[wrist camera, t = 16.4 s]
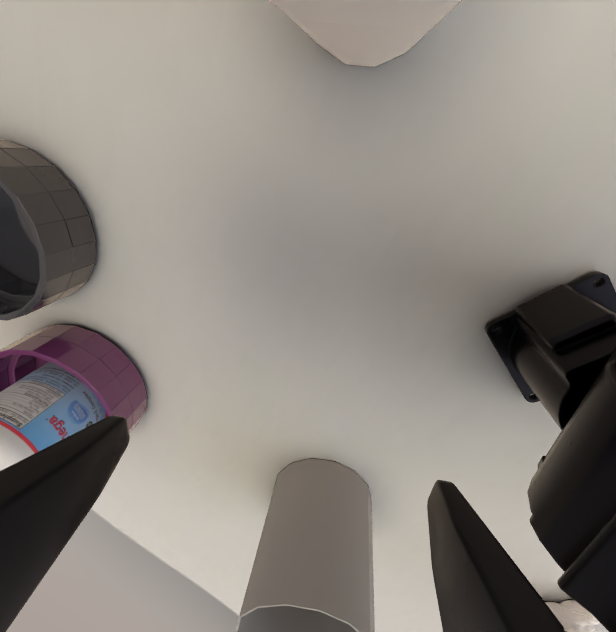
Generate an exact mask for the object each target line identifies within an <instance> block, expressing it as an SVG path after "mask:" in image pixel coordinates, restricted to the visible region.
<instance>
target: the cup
mask: <svg viewBox="0 0 616 632" xmlns="http://www.w3.org/2000/svg"><path fill="white" fill-rule="evenodd" d="M236 632H375V628H374V588H373V548H372V508H371V497H370V493H369V488H368V485H367V484H366V483H365V482H364V481H363V479H362V478H361V477H360V476H359V475H358V474H357V473H356V472H355V471H354V470H352V469H349V468H347V467H345V466H343V465H341V464H339V463H337V462H335V461H328V460H320V459H307V460H303V461H298V462H294V463H291V464H289V465H288V466H287V467H286V468H285V469H283V470H282V471H281V472H280V473H279V474H278V476H277V480H276V483H275V487H274V491H273V494H272V498H271V502H270V505H269V509H268V513H267V516H266V520H265V524H264V527H263V531H262V535H261V539H260V542H259V546H258V550H257V553H256V557H255V561H254V564H253V568H252V572H251V575H250V579H249V583H248V586H247V590H246V594H245V598H244V601H243V605H242V609H241V612H240V616H239V620H238V623H237V627H236Z"/></svg>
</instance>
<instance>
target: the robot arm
mask: <svg viewBox="0 0 616 632" xmlns="http://www.w3.org/2000/svg"><path fill="white" fill-rule="evenodd" d="M598 278H599V282H598V283H596V284H594V285H593V282H594V280H596V279H598ZM494 327H498V329H497V330H496V331H491V330H492V329H493V328H494ZM485 332H486V333H487V335H488V337H489V338H490V340H491V342H492V344H493V345H494V347H495V349H496V350H497V352H498V354H499V356H500V357H501V359H502V361H503V362H504V364H505V366H506V367H507V369H508V371H509V373H510V374H511V376H512V378H513V379H514V381H515V383H516V384H517V386H518V388H519V390H520V391H521V393H522V395H523V396H524V398H525V399H526V400H527V401H528V402H537V401H541V403H542V404H543V406H544V407H545V408H546V410H547V411H548V412H549V414H550V415H551V416H552V418H553V419H554V420H555V422H556V423H557V425H558V426H559V427H560V429H561V430H562V432H561V433H560V435H559V436H558V438H557V440H556V441H555V443H554V444H553V446H552V447H551V449H550V450H549V452H548V454H547V455H546V456H543V457H542V458H541V460H540V461H539V463H538V470H537V472H536V473H535V475H534V476H533V478H532V480H531V483H530V486H529V489H528V497H529V503H530V508H531V512H532V514H533V515H532V516H531V518H530V523H531V525H532V527H533V529H534V531H535V532H536V534H537V536H538V538H539V540H540V541H541V543H542V544H543V545H544V547H545V548H546V549H547V551H548V552H549V553H550V555H551V556H552V557H553V559H554V560H555V561H556V563H557V564H558V565H559V566H560V567H561V568H562V569H563V570H564V571H565V572H564V574H563V575H562V576H561V577H560V578H559V579H558V585H559V587H560V588H561V589H562V590H563V591H564V592H565V593H566V594H568V595H569V596H570V597H571V598H573V599H574V600H575V601H576V602H578V603H579V604H580V605H581V606H583V607H584V608H585V609H586V610H587V611H589V612H590V613H591V614H592V615H593V616H594V617H595V618H596V619H597V620H598V621H599V622H600V623H601V624H602V625H603V626H604V627H605V628H606V629H607V630H608V631H609V632H616V292H615V290H614V288H613V285H612V283H611V281H610V278H609V277H608V276H607V275H606V274H604V273H601V272H592V273H589V274H587V275H585V276H583V277H581V278H579V279H577V280H575V281H573V282H571V283H569V284H567V285H560V286H558V287H556V288H554V289H552V290H550V291H548V292H546V293H544V294H542V295H540V296H538V297H536V298H534V299H532V300H529V301H527V302H525V303H523V304H521V305H519V306H518V307H517V309H515V310H513V311H511V312H508V313H506V314H504V315H502V316H500V317H498V318H496V319H494V320H492V321H490V322H488V323H487V324H486V326H485ZM532 393H535V394H533V395H531V396H530V394H532ZM128 443H129V430H128V423H127V419H126V418H125V417H121V416H116V415H111V416H108V417H106V418H104V419H102V420H100V421H98V422H96V423H94V424H92V425H90V426H88V427H86V428H84V429H82V430H80V431H78V432H76V433H74V434H72V435H70V436H68V437H66V438H64V439H62V440H60V441H58V442H56V443H55V444H53V445H51V446H49V447H47V448H45V449H43V450H41V451H39V452H37V453H35V454H33V455H31V456H29V457H27V458H25V459H23V460H21V461H19V462H17V463H15V464H13V465H11V466H9V467H7V468H5V469H3V470H1V471H0V632H6V631H7V629H8V628H9V626H10V625H11V624H12V622H13V621H14V619H15V618H16V616H17V615H18V613H19V611H20V610H21V609H22V608H23V606H24V605H25V603H26V602H27V600H28V599H29V597H30V596H31V595H32V593H33V592H34V590H35V589H36V587H37V585H38V584H39V583H40V581H41V580H42V579H43V577H44V575H45V574H46V573H47V571H48V570H49V568H50V567H51V565H52V564H53V563H54V561H55V560H56V558H57V557H58V555H59V554H60V552H61V551H62V550H63V548H64V547H65V545H66V544H67V542H68V541H69V539H70V538H71V536H72V535H73V534H74V532H75V531H76V529H77V528H78V526H79V525H80V523H81V522H82V521H83V519H84V518H85V516H86V515H87V513H88V512H89V510H90V509H91V508H92V506H93V505H94V503H95V502H96V500H97V499H98V497H99V495H100V494H101V492H102V490H103V489H104V487H105V485H106V483H107V482H108V480H109V478H110V476H111V474H112V473H113V471H114V469H115V467H116V466H117V464H118V462H119V460H120V458H121V457H122V455H123V453H124V451H125V449H126V448H127V446H128ZM427 508H428V521H429V534H430V547H431V560H432V570H433V576H434V582H435V588H436V594H437V599H438V605H439V611H440V616H441V622H442V627H443V632H567V631H564V627H563V625H562V624H561V623H560V621H559V620H558V619H557V617H556V616H555V615H554V614H553V612H552V611H551V610H550V608H549V607H548V606H547V604H546V603H545V602H544V601H543V599H542V598H541V597H540V595H539V594H538V593H537V591H536V590H535V589H534V588H533V586H532V585H531V584H530V582H529V581H528V580H527V578H526V577H525V576H524V575H523V573H522V572H521V571H520V569H519V568H518V567H517V565H516V564H515V563H514V562H513V560H512V559H511V558H510V556H509V555H508V554H507V552H506V551H505V550H504V548H503V547H502V546H501V545H500V543H499V542H498V541H497V539H496V538H495V537H494V535H493V534H492V533H491V532H490V530H489V529H488V528H487V526H486V525H485V524H484V522H483V521H482V520H481V519H480V517H479V516H478V515H477V513H476V512H475V511H474V509H473V508H472V507H471V506H470V504H469V503H468V502H467V500H466V499H465V498H464V496H463V495H462V494H461V493H460V491H459V490H458V489H457V487H456V486H455V485H454V484H453V483H451V482H447V481H442V480H437V481H436V482H435V484H434V487H433V489H432V491H431V494H430V496H429V499H428V505H427Z"/></svg>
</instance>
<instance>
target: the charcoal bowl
mask: <svg viewBox="0 0 616 632" xmlns="http://www.w3.org/2000/svg"><path fill="white" fill-rule="evenodd" d="M95 255H96V241H95V235H94V231H93V228H92V224H91V220H90V216H89V213H88V212H87V210H86V208H85V206H84V204H83V202H82V201H81V199H80V197H79V195H78V193H77V192H76V190H74V188H73V187H72V185H71V184H70V183H69V182H68V181H67V180H66V179H65V177H64V176H63V175H62V174H61V173H60V172H59V171H58V170H57V168H55V167H54V165H52V164H51V163H49V162H48V161H47V160H45V159H44V158H42V157H41V156H39V155H38V154H37V153H35V152H34V151H32V150H31V149H29V148H26V147H24V146H21V145H18V144H15V143H13V142H10V141H7V140H0V320H11V319H14V318H17V317H20V316H24V315H27V314H29V313H31V312H33V311H35V310H38V309H40V308H42V307H44V306H46V305H49V304H51V303H53V302H55V301H57V300H59V299H62V298H64V297H66V296H68V295H70V294H73V293H75V292H76V291H77V290H78V289H80V288H81V287H82V286H83V285H84V284H85V283H86V282H87V281H88V280H89V277H90V275H91V272H92V270H93V267H94V265H95Z"/></svg>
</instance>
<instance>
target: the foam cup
mask: <svg viewBox="0 0 616 632" xmlns="http://www.w3.org/2000/svg"><path fill="white" fill-rule="evenodd" d="M268 1H270V2H271V3H272V4H274V5H275V6H277V7H278V8H279V9H281V10H282V11H283V12H284V13H285V14H287V15H288V16H289V17H290V18H291V19H292V20H293V21H294V22H295V23H296V24H297V25H298V26H299V27H300V28H301V29H302V30H304V31H305V32H306V33H307V34H308V35H309V36H310V37H311V38H312V39H313V40H314V41H315V42H316V43H317V44H319V45H320V46H321V47H323V48H324V49H325V50H327V51H328V52H329V53H331V54H332V55H334V56H335V57H336V58H338V59H339V60H340V61H342V62H343V63H344V64H348V65H360V66H371V67H376V66H378V65H380V64H382V63H384V62H387V61H389V60H391V59H393V58H395V57H398V56H400V55H402V54H404V53H405V52H407V51H408V50H409V49H410V48H411V47H413V46H414V45H415V44H416V43H417V42H418V41H419V40H420V39H421V38H422V37H423V36H424V35H425V34H426V33H427V32H429V31H430V30H431V29H432V28H433V27H434V26H435V25H436V24H437V23H438V22H439V21H440V20H441V19H442V18H443V17H445V16H446V15H447V14H448V13H449V12H450V11H451V10H452V9H453V8H454V7H455V6H456V5H457V4H458V3H459V2H461V1H462V0H268Z"/></svg>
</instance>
